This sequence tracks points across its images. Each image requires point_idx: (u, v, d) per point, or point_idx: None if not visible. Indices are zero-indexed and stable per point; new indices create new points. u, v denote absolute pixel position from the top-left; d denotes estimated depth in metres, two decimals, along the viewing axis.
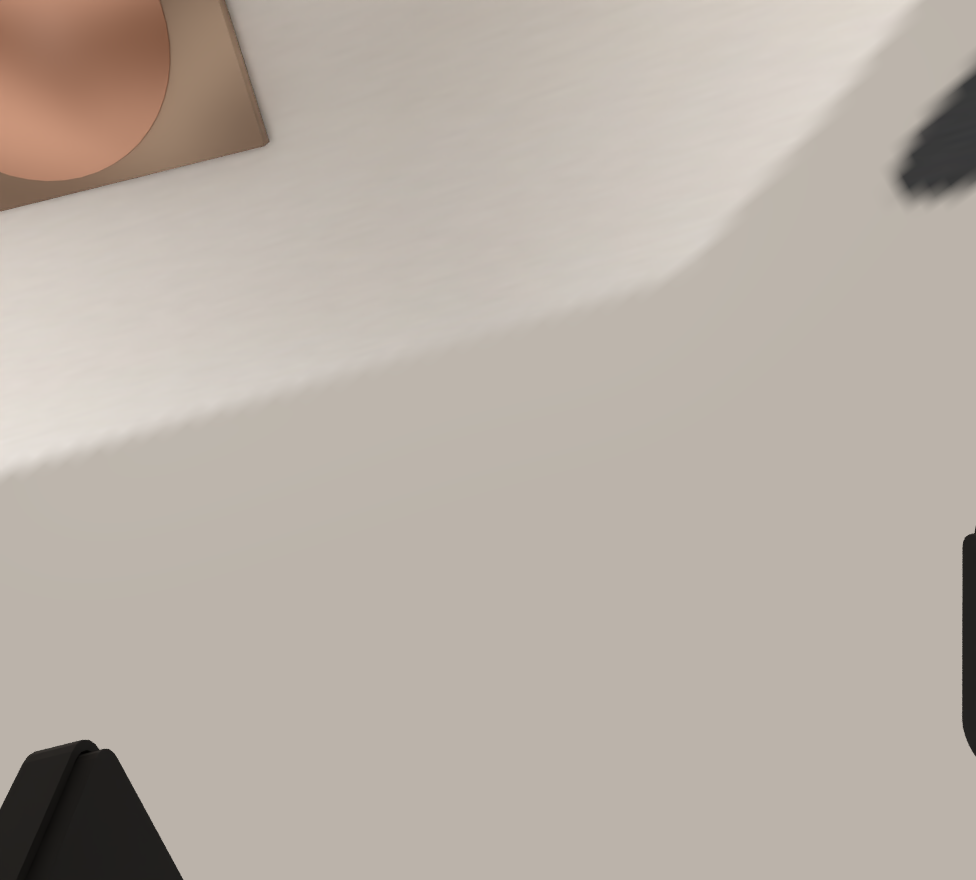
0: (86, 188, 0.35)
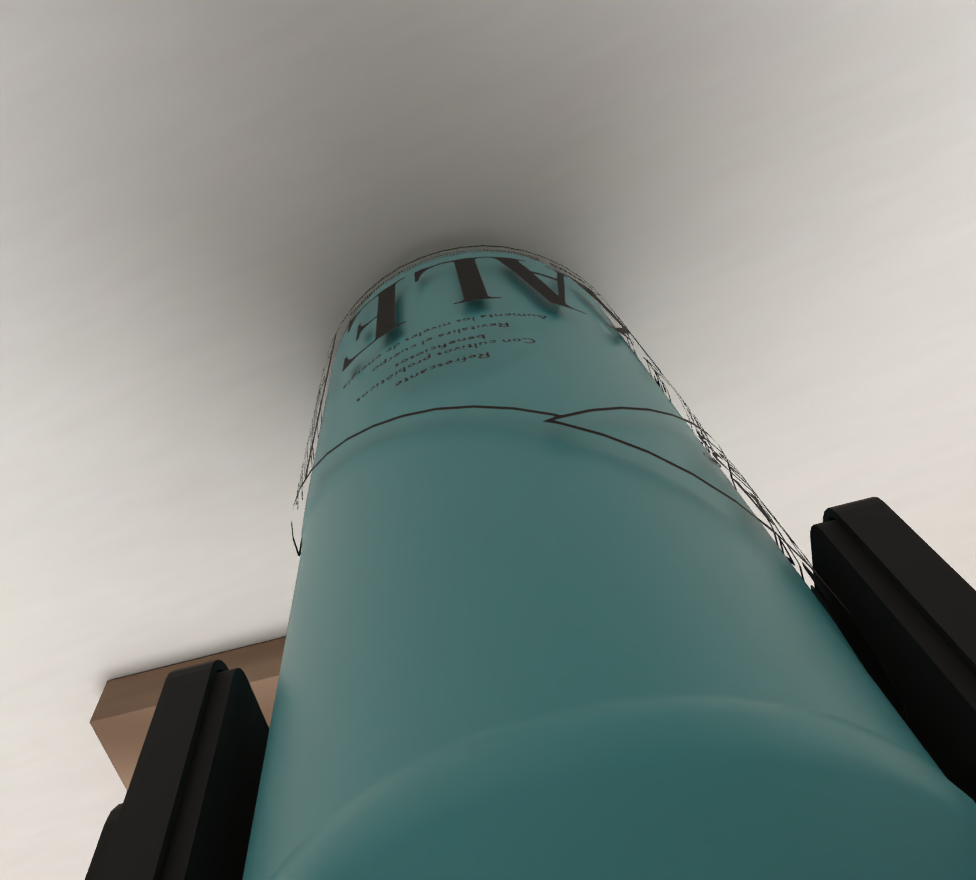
0: None
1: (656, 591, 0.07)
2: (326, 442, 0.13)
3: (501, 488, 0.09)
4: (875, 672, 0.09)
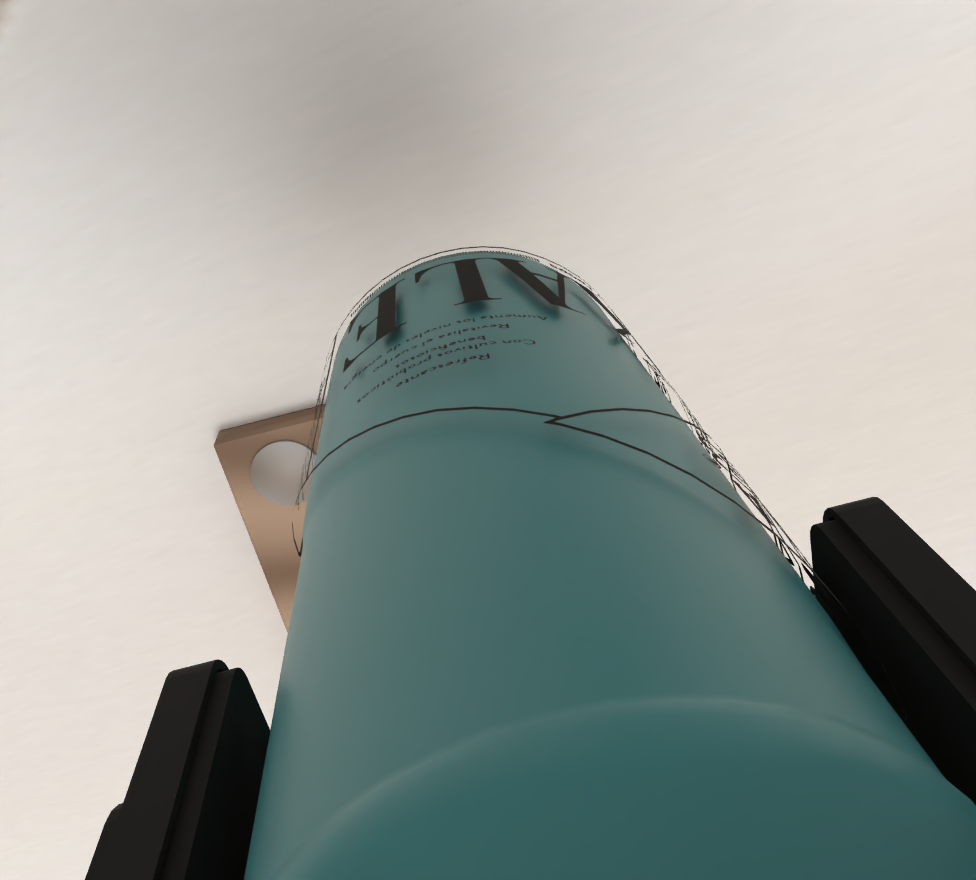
0: None
1: (656, 592, 0.07)
2: (327, 443, 0.13)
3: (501, 489, 0.09)
4: (875, 672, 0.09)
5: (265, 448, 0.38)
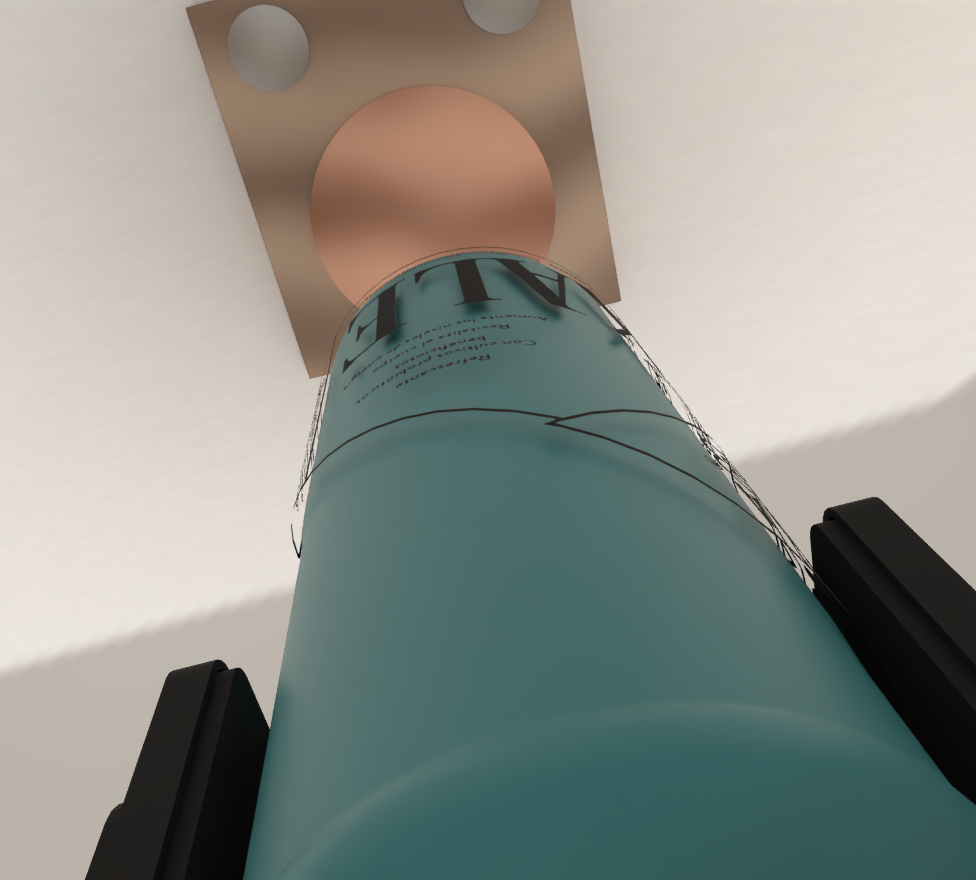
0: None
1: (658, 596, 0.07)
2: (326, 444, 0.13)
3: (502, 490, 0.09)
4: (875, 672, 0.09)
5: (244, 12, 0.33)
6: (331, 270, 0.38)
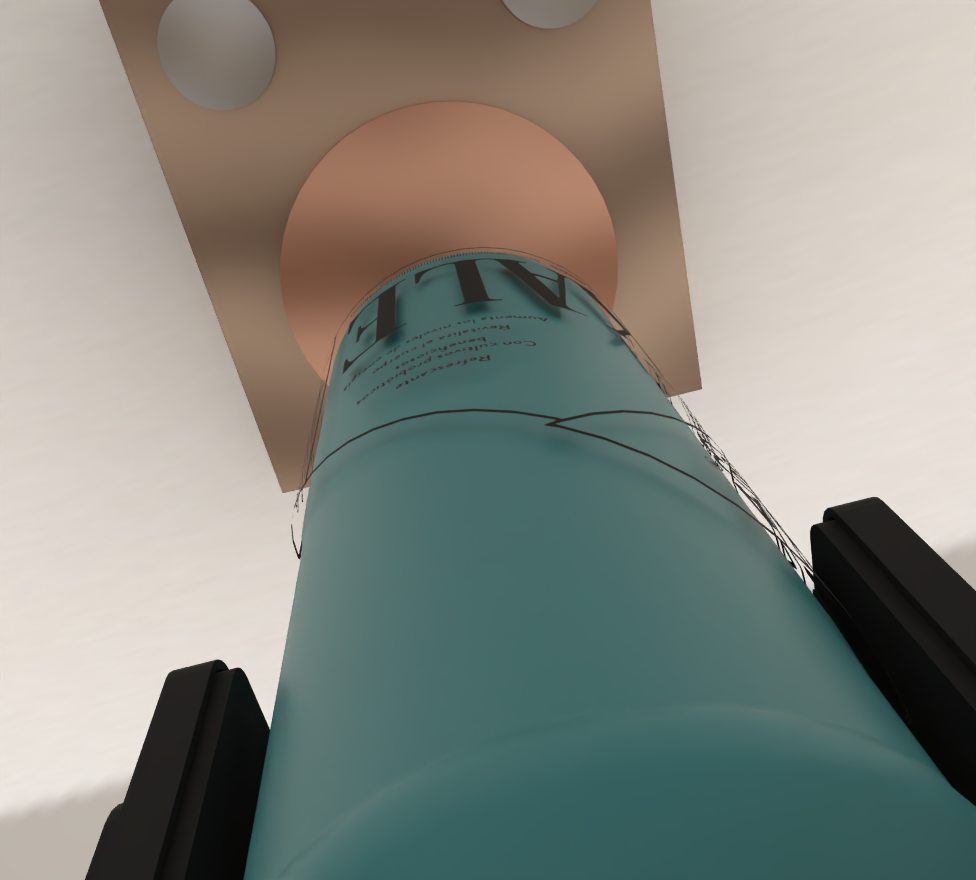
0: None
1: (658, 597, 0.07)
2: (326, 445, 0.13)
3: (501, 492, 0.09)
4: (875, 672, 0.09)
5: None
6: (310, 353, 0.27)
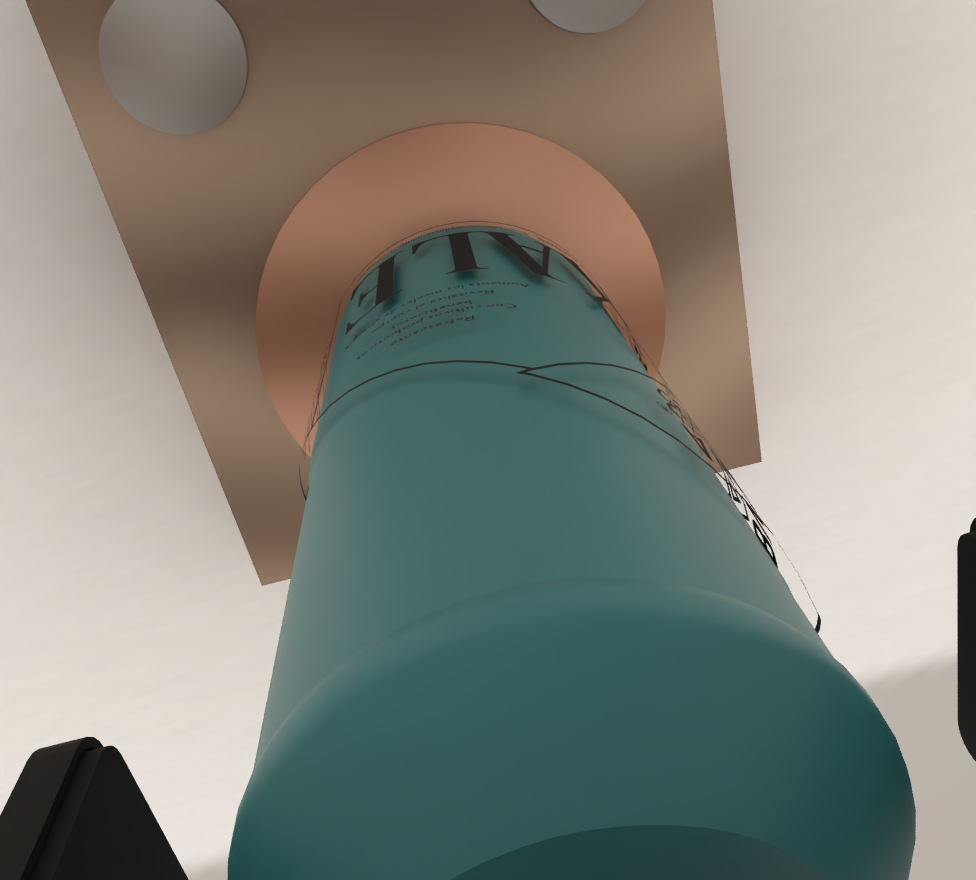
0: None
1: (598, 505, 0.08)
2: (330, 397, 0.14)
3: (477, 427, 0.10)
4: None
5: None
6: (293, 425, 0.23)
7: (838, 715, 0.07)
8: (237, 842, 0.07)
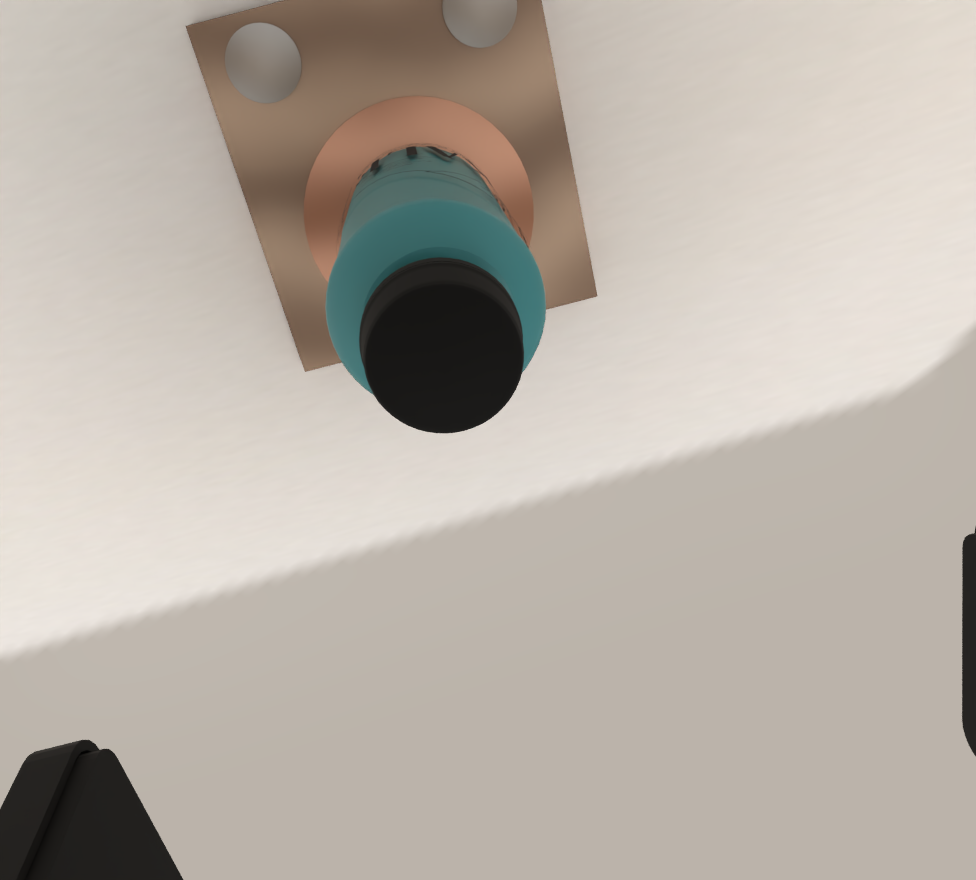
0: None
1: (443, 192, 0.26)
2: (349, 209, 0.32)
3: (407, 185, 0.28)
4: None
5: (240, 29, 0.36)
6: (324, 269, 0.40)
7: (505, 234, 0.25)
8: (329, 282, 0.25)
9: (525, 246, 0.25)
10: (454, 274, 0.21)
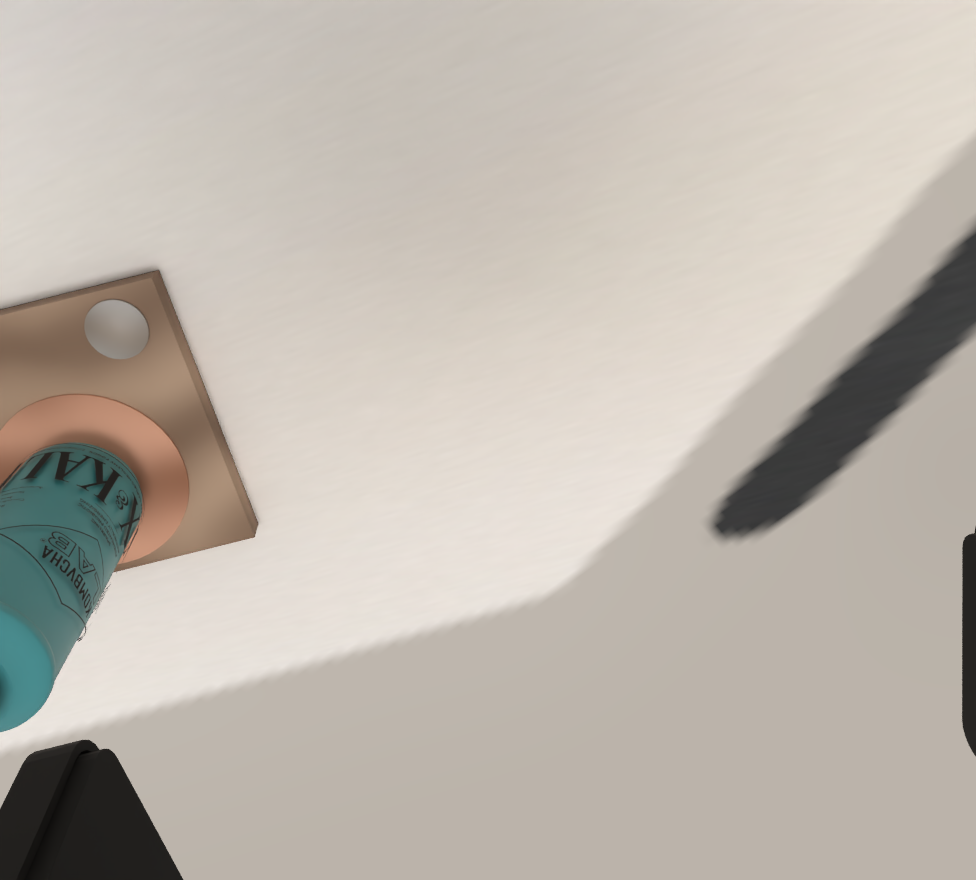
0: (130, 567, 0.50)
1: None
2: None
3: None
4: None
5: None
6: None
7: (2, 621, 0.33)
8: None
9: (23, 625, 0.33)
10: None
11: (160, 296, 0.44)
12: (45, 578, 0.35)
